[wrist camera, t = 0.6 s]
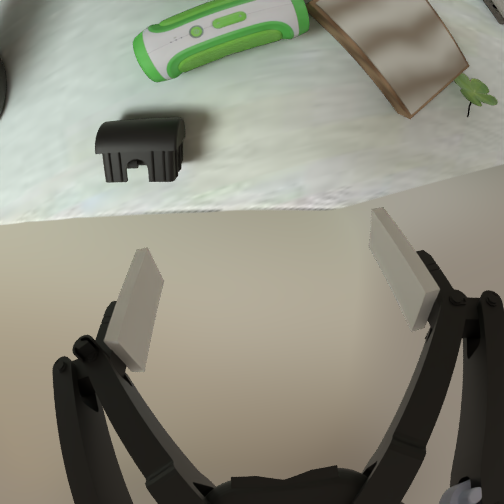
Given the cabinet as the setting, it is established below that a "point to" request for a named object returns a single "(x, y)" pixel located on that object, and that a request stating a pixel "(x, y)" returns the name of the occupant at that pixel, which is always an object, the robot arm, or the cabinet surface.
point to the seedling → (474, 91)
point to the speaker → (216, 33)
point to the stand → (395, 46)
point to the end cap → (141, 147)
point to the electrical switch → (503, 13)
